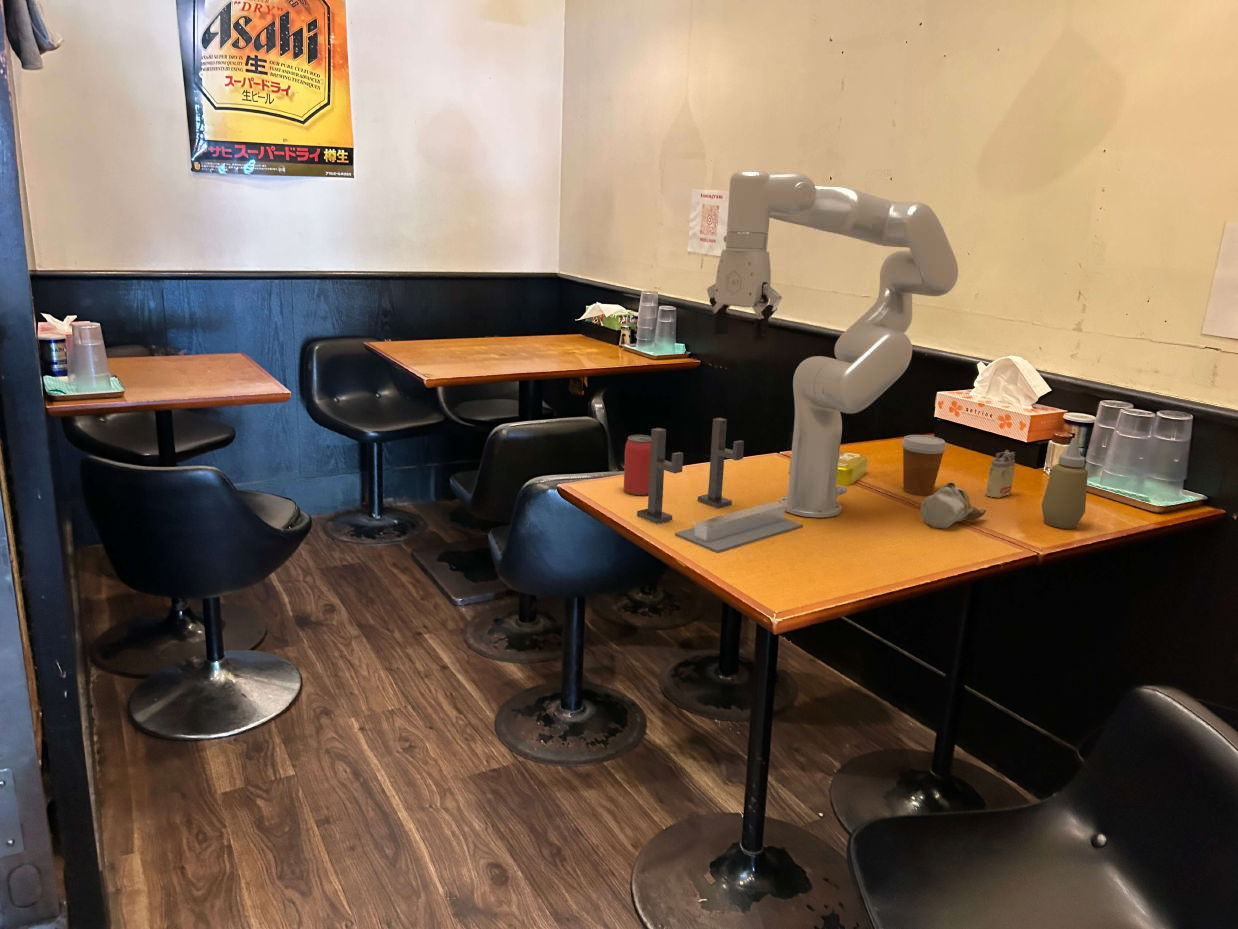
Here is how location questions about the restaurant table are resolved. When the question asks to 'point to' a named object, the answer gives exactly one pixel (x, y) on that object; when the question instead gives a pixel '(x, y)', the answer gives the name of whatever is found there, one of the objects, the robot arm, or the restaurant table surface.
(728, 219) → the robot arm
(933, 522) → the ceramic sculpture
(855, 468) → the element tile
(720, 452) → the hook stand
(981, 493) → the restaurant table surface
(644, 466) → the beer can
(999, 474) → the lighter
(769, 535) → the mat
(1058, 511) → the squeeze bottle
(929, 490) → the disposable coffee cup
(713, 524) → the rail
